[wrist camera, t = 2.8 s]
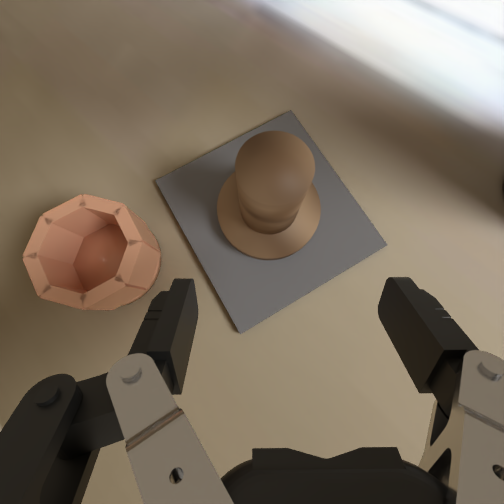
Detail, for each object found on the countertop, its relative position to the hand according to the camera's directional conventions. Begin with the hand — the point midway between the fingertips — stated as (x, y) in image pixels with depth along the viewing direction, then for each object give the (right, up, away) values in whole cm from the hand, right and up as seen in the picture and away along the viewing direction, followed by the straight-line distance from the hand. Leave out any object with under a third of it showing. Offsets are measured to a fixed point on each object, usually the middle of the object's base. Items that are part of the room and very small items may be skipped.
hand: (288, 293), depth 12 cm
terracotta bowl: (-14, +1, +13) cm, 19 cm away
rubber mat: (0, +5, +14) cm, 15 cm away
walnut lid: (0, +5, +13) cm, 14 cm away
